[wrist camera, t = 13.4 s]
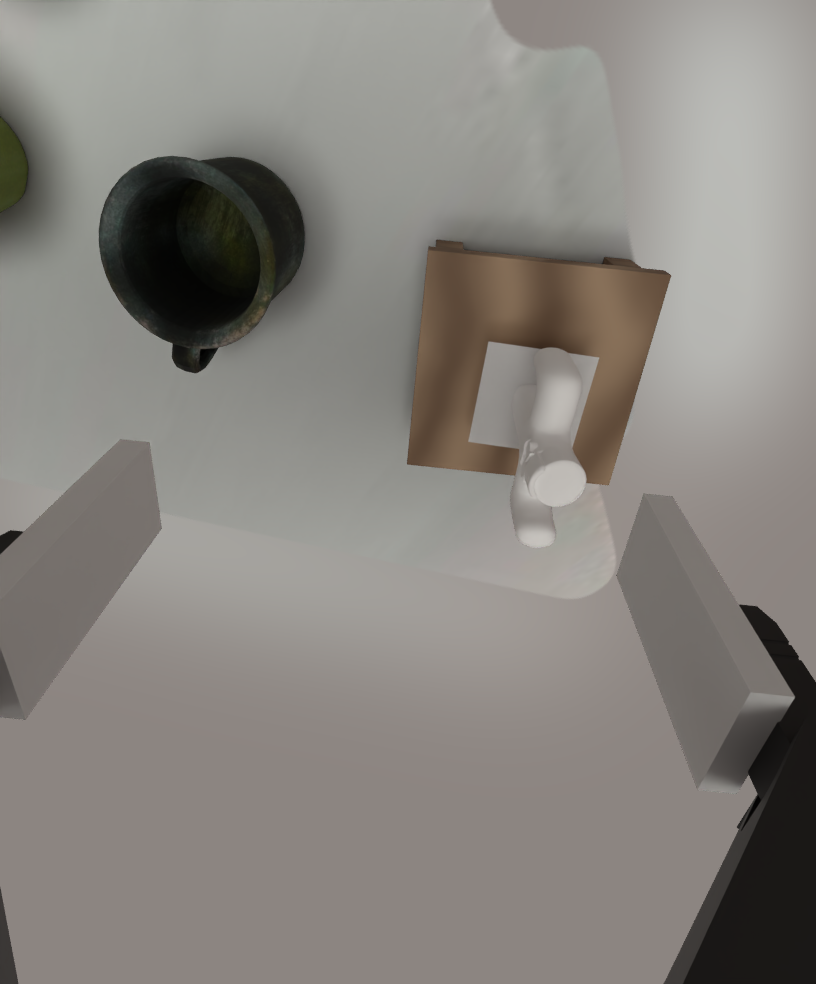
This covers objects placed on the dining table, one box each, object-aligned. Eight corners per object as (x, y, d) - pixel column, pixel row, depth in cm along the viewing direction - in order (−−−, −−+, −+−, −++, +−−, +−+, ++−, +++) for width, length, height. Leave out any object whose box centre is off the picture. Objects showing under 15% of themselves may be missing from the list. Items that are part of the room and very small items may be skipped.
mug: (327, 180, 46) (292, 195, 35) (285, 359, 53) (246, 415, 43) (183, 126, 44) (103, 126, 34) (160, 317, 52) (88, 365, 41)
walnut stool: (411, 422, 55) (406, 464, 48) (430, 232, 47) (428, 250, 40) (588, 440, 55) (608, 485, 48) (638, 253, 47) (671, 275, 40)
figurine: (592, 324, 42) (656, 412, 29) (557, 446, 47) (599, 567, 34) (488, 309, 42) (507, 390, 29) (464, 433, 47) (470, 549, 34)
